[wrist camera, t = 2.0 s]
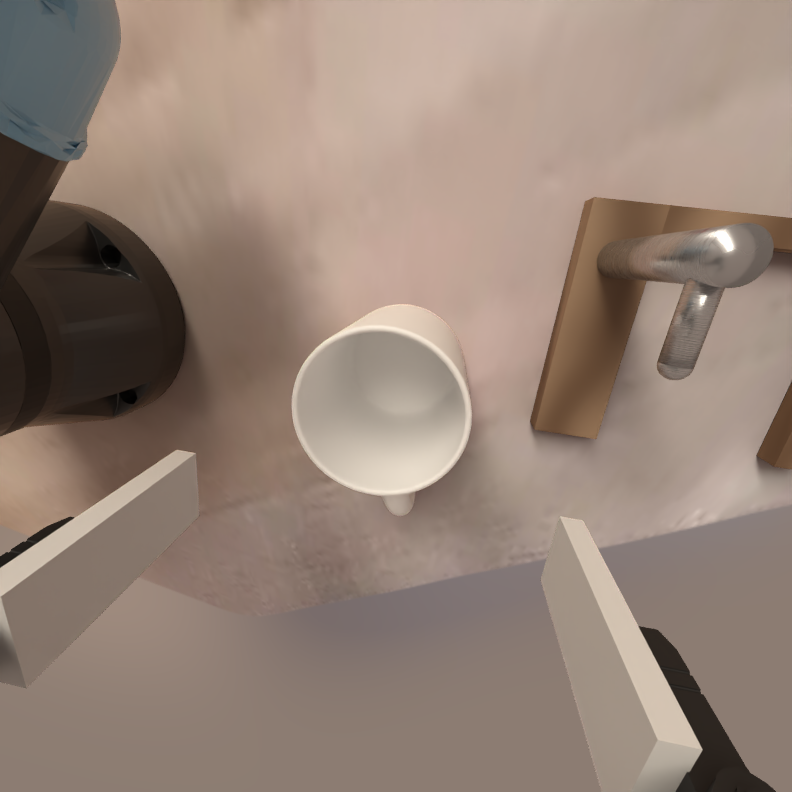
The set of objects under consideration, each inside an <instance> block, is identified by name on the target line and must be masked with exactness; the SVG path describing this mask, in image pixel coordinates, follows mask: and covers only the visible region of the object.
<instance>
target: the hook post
mask: <svg viewBox="0 0 792 792" xmlns="http://www.w3.org/2000/svg"><path fill="white" fill-rule="evenodd" d="M773 250H774V245H773V239H772V237H771V235H770V233H769V232H768V231H767V230H766V229H765V228H764V227H762V226H760V225H758V224H754V223H740V224H733V225H726V226H719V227H712V228H704V229H697V230H690V231H683V232H675V233H668V234H661V235H654V236H647V237H639V238H632V239H625V240H618V241H613V242H610V243H608V244H607V245H605V246H604V247H603V248H602V249H601V251H600V252H599V254H598V257H597V267H598V270H599V271H600V273H601V274H602V275H604V276H606V277H609V278H620V279H632V280H643V281H655V282H667V283H679V284H684V287H683V290H682V293H681V296H680V299H679V301H678V304H677V307H676V310H675V313H674V316H673V319H672V321H671V324H670V327H669V330H668V333H667V336H666V339H665V341H664V344H663V347H662V350H661V353H660V356H659V359H658V362H657V369H658V372H659V373H660V374H661V375H662V376H663V377H664V378H666V379H669V380H681V379H684V378H685V377H687V376H689V375H690V374H691V373H692V371H693V369H694V367H695V364H696V362H697V359H698V357H699V354H700V351H701V349H702V346H703V344H704V341H705V338H706V336H707V333H708V331H709V328H710V325H711V323H712V320H713V318H714V315H715V312H716V310H717V307H718V304H719V302H720V299H721V297H722V294H723V291H724V289H725V287H726V288H735V287H740V286H743V285H746V284H748V283H750V282H752V281H753V280H755V279H756V278H757V277H759V276H760V275H761V274H762V273H763V272H764V271H765V269H766V268H767V266H768V265H769V263H770V261H771V258H772V256H773Z"/></svg>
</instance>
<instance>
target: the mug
mask: <svg viewBox="0 0 792 792" xmlns="http://www.w3.org/2000/svg"><path fill="white" fill-rule="evenodd" d="M292 418H293V423H294V427H295V431H296V434H297V436H298V439H299V441H300V443H301V445H302V447H303V449H304V451H305V452H306V454H307V455H308V456H309V458H310V459H311V460H312V461H313V463H314V464H315V465H316V466H317V467H318V468H319V469H320V470H321V471H322V472H323V473H325V474H326V475H327V476H328V477H330V478H331V479H333V480H334V481H336V482H337V483H339V484H341V485H343V486H345V487H347V488H349V489H352V490H354V491H358V492H361V493H364V494H370V495H375V496H382V498H383V501H384V503H385V505H386V507H387V509H388V510H389V511H390V512H391V513H392V514H394V515H397V516H404V515H406V514H407V513H409V512H410V511H411V509H412V507H413V505H414V501H415V493H416V491H419V490H421V489H424V488H426V487H428V486H430V485H432V484H433V483H435V482H436V481H438V480H439V479H441V478H442V477H443V476H444V475H446V474H447V473H448V472H449V471H450V469H451V468H452V467H453V466H454V465H455V464H456V462H457V461H458V460H459V458H460V457H461V455H462V453H463V451H464V449H465V447H466V445H467V442H468V439H469V436H470V431H471V426H472V407H471V399H470V393H469V387H468V381H467V375H466V368H465V362H464V357H463V353H462V349H461V346H460V343H459V341H458V339H457V337H456V335H455V334H454V332H453V331H452V329H451V328H450V327H449V326H448V325H447V323H446V322H445V321H444V320H442V319H441V318H440V317H439V316H437V315H436V314H434V313H432V312H431V311H429V310H426V309H424V308H421V307H418V306H414V305H407V304H397V305H390V306H386V307H382V308H379V309H377V310H374V311H372V312H370V313H369V314H367V315H365V316H364V317H362V318H361V319H359V320H357V321H356V322H354V323H353V324H351V325H349V326H348V327H346V328H345V329H343V330H341V331H340V332H338V333H337V334H335V335H333V336H332V337H330V338H329V339H327V340H325V341H324V342H323V343H322V344H320V345H319V346H318V347H317V348H316V349H315V350H314V351H313V352H312V353H311V354H310V355H309V356H308V358H307V359H306V361H305V362H304V364H303V365H302V367H301V369H300V371H299V373H298V375H297V378H296V381H295V384H294V388H293V394H292Z"/></svg>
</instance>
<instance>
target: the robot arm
mask: <svg viewBox="0 0 792 792" xmlns="http://www.w3.org/2000/svg"><path fill="white" fill-rule="evenodd" d="M120 43H121V27H120V20H119V15H118V11H117V7H116V3H115V0H0V436H3V435H6V434H8V433H11V432H13V431H16V430H19V429H21V428H24V427H32V426H44V425H55V424H66V423H77V422H88V421H99V420H107V419H112V418H116V417H119V416H122V415H125V414H128V413H130V412H132V411H134V410H136V409H138V408H140V407H143V406H145V405H147V404H149V403H151V402H152V401H154V400H155V399H157V398H158V397H159V396H161V395H162V394H163V393H164V392H165V391H166V390H167V388H168V387H169V386H170V385H171V383H172V382H173V380H174V378H175V377H176V374H177V372H178V370H179V367H180V365H181V361H182V357H183V352H184V341H185V332H184V321H183V315H182V311H181V306H180V303H179V300H178V297H177V294H176V291H175V289H174V287H173V284H172V282H171V280H170V278H169V276H168V274H167V273H166V271H165V269H164V268H163V266H162V265H161V263H160V262H159V260H158V259H157V257H156V256H155V255H154V253H153V252H152V251H151V250H150V249H149V247H148V246H147V245H146V244H145V243H144V242H143V241H142V240H141V239H140V238H139V237H138V236H137V235H136V234H135V233H133V232H132V231H131V230H130V229H128V228H127V227H126V226H125V225H123V224H122V223H120V222H119V221H117V220H116V219H114V218H112V217H110V216H108V215H107V214H105V213H102V212H100V211H98V210H95V209H92V208H89V207H86V206H82V205H77V204H71V203H64V202H58V201H52V200H49V198H50V196H51V194H52V192H53V191H54V189H55V187H56V185H57V183H58V181H59V179H60V177H61V175H62V174H63V172H64V170H65V168H66V166H67V164H68V162H69V161H71V160H77V159H80V158H81V157H82V155H83V153H84V152H85V150H86V148H87V146H88V145H87V126H88V124H89V122H90V120H91V117H92V115H93V113H94V111H95V108H96V106H97V104H98V102H99V99H100V97H101V95H102V93H103V90H104V88H105V86H106V84H107V81H108V79H109V77H110V75H111V72H112V70H113V68H114V66H115V63H116V61H117V58H118V54H119V50H120ZM199 516H200V512H199V496H198V479H197V462H196V453H193V452H187V451H181V450H175V451H174V452H172V453H171V454H169V455H168V456H166V457H165V458H163V459H162V460H160V461H159V462H157V463H156V464H154V465H153V466H151V467H150V468H148V469H147V470H145V471H144V472H142V473H141V474H139V475H138V476H136V477H135V478H134V479H132V480H131V481H129V482H128V483H126V484H125V485H123V486H122V487H120V488H119V489H117V490H116V491H114V492H113V493H111V494H110V495H108V496H107V497H105V498H104V499H102V500H101V501H99V502H98V503H96V504H95V505H93V506H92V507H90V508H89V509H87V510H86V511H84V512H83V513H81V514H80V515H78V516H77V517H75V518H74V517H68V518H66V519H63V520H61V521H58V522H56V523H54V524H51V525H49V526H47V527H45V528H44V529H42V530H40V531H39V532H37V533H36V534H34V535H33V536H31V537H30V538H28V539H27V541H26V542H22V543H20V544H19V545H17V546H16V547H14V548H13V549H11V551H10V552H9V553H8V552H6V553H5V554H3V555H2V556H0V682H2V683H6V684H11V685H15V686H19V687H23V688H27V687H28V686H29V685H30V684H31V683H32V682H33V681H34V680H35V679H36V678H37V677H38V676H39V675H40V674H41V673H42V672H43V671H44V670H45V669H46V668H47V667H48V666H49V665H50V664H51V663H52V662H53V661H54V660H55V659H56V658H57V657H58V656H59V655H60V654H61V653H63V652H64V650H66V648H67V647H69V646H70V645H71V643H73V641H74V640H76V639H77V637H79V635H81V633H82V632H84V630H86V629H87V628H88V627H89V626H90V624H92V623H93V622H94V621H95V620H96V619H97V618H98V616H100V615H101V613H103V612H104V610H106V608H108V607H109V606H110V605H111V604H112V603H113V602H114V601H115V599H116V598H118V597H119V595H121V594H122V592H124V591H125V590H126V589H127V588H128V587H129V586H130V585H131V584H132V583H133V582H134V580H136V579H137V578H138V577H139V576H140V575H141V574H142V573H143V572H144V571H145V570H146V569H147V568H148V567H149V566H150V565H151V564H152V563H153V562H154V561H155V560H156V559H157V558H158V557H159V556H160V555H161V554H162V553H163V552H164V551H165V550H166V549H167V548H168V547H169V546H170V545H171V544H172V543H173V542H174V541H175V540H176V539H177V538H178V537H179V536H180V535H181V534H182V533H183V532H184V531H185V530H186V529H187V528H188V527H189V526H190V525H191V524H192V523H193V522H194V521H195V520H196V519H197V518H198V517H199ZM541 583H542V586H543V590H544V593H545V597H546V601H547V604H548V607H549V611H550V615H551V618H552V621H553V625H554V628H555V632H556V635H557V639H558V642H559V646H560V649H561V653H562V656H563V660H564V663H565V667H566V670H567V673H568V677H569V680H570V684H571V687H572V691H573V694H574V698H575V701H576V704H577V708H578V712H579V715H580V719H581V722H582V726H583V729H584V732H585V736H586V740H587V743H588V746H589V750H590V753H591V757H592V760H593V764H594V767H595V771H596V774H597V778H598V781H599V784H600V788H601V791H602V792H776V791H775V790H774V789H773V788H771V787H770V786H769V785H768V784H767V783H765V782H764V781H762V780H761V779H759V778H757V777H756V776H754V775H753V774H751V773H750V772H749V770H748V769H747V768H746V766H745V764H744V762H743V761H742V759H741V757H740V756H739V754H738V752H737V751H736V749H735V747H734V746H733V744H732V742H731V740H730V739H729V737H728V736H727V734H726V732H725V730H724V729H723V727H722V725H721V724H720V722H719V720H718V718H717V717H716V715H715V713H714V712H713V710H712V708H711V707H710V705H709V703H708V702H707V700H706V698H705V697H704V695H702V694H701V692H700V688H699V686H698V685H697V683H696V681H695V680H694V678H693V676H690V672H689V669H688V668H687V666H686V664H685V663H684V661H683V660H682V658H681V656H680V654H679V653H678V651H677V649H675V647H674V646H673V645H672V644H671V643H670V642H669V641H668V640H667V639H666V638H665V637H664V636H663V635H662V634H661V633H660V632H659V631H658V630H656V629H650V628H645V627H640V626H638V625H637V623H636V621H635V619H634V617H633V615H632V614H631V612H630V610H629V608H628V606H627V604H626V602H625V600H624V598H623V596H622V594H621V592H620V590H619V589H618V587H617V585H616V583H615V581H614V579H613V577H612V575H611V573H610V571H609V569H608V567H607V566H606V564H605V562H604V560H603V558H602V556H601V554H600V552H599V550H598V548H597V546H596V544H595V543H594V541H593V539H592V537H591V535H590V533H589V531H588V529H587V527H586V525H585V523H584V521H583V520H578V519H572V518H566V517H561V516H560V517H559V521H558V524H557V527H556V530H555V534H554V537H553V540H552V544H551V547H550V550H549V554H548V557H547V560H546V564H545V567H544V570H543V573H542V577H541Z"/></svg>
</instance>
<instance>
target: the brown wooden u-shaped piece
mask: <svg viewBox="0 0 792 792" xmlns="http://www.w3.org/2000/svg"><path fill="white" fill-rule="evenodd" d="M740 223H754V224H758V225H760V226H762V227H764V228H765V229H766V230H767V231H768V232H769V233H770V235H771V237H772V239H773V245H774V250H773V251H777V252H786V253H792V218H786V217H776V216H767V215H757V214H748V213H738V212H729V211H719V210H710V209H701V208H691V207H682V206H672V205H663V204H653V203H644V202H634V201H625V200H616V199H606V198H597V197H594V198H592V199H589V200H587V201H585V204H584V208H583V212H582V216H581V220H580V224H579V228H578V232H577V236H576V240H575V244H574V248H573V252H572V256H571V260H570V264H569V268H568V272H567V276H566V280H565V284H564V288H563V292H562V296H561V300H560V304H559V308H558V312H557V316H556V320H555V324H554V328H553V332H552V336H551V340H550V344H549V348H548V352H547V356H546V360H545V364H544V368H543V372H542V376H541V380H540V384H539V388H538V392H537V396H536V400H535V404H534V408H533V412H532V416H531V420H530V422H531V424H532V426H533V427H534V429H535V430H541V431H547V432H553V433H560V434H566V435H573V436H579V437H586V438H592V439H596V438H597V435H598V432H599V429H600V426H601V423H602V420H603V416H604V413H605V410H606V407H607V404H608V401H609V398H610V394H611V391H612V388H613V385H614V382H615V379H616V375H617V372H618V369H619V366H620V363H621V360H622V357H623V353H624V350H625V347H626V344H627V341H628V338H629V335H630V331H631V328H632V325H633V322H634V319H635V316H636V313H637V309H638V306H639V303H640V300H641V297H642V294H643V291H644V287H645V284H646V281H643V280H632V279H620V278H609V277H606V276H604V275H602V274H601V273H600V271H599V270H598V267H597V257H598V254H599V252H600V251H601V249H602V248H603V247H604V246H605V245H607V244H608V243H610V242H613V241H618V240H625V239H632V238H639V237H647V236H654V235H661V234H668V233H675V232H683V231H690V230H697V229H704V228H712V227H719V226H726V225H733V224H740ZM757 456H758V457H759V458H761V459H763V460H764V461H766V462H767V463H769V464H771V465H772V466H774V467H780V468H786V469H792V383H791V385H790V387H789V389H788V391H787V393H786V395H785V397H784V399H783V402H782V404H781V406H780V408H779V410H778V412H777V414H776V416H775V418H774V420H773V423H772V425H771V427H770V429H769V431H768V433H767V435H766V437H765V439H764V441H763V443H762V446H761V448H760V450H759V452H758V454H757Z"/></svg>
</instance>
